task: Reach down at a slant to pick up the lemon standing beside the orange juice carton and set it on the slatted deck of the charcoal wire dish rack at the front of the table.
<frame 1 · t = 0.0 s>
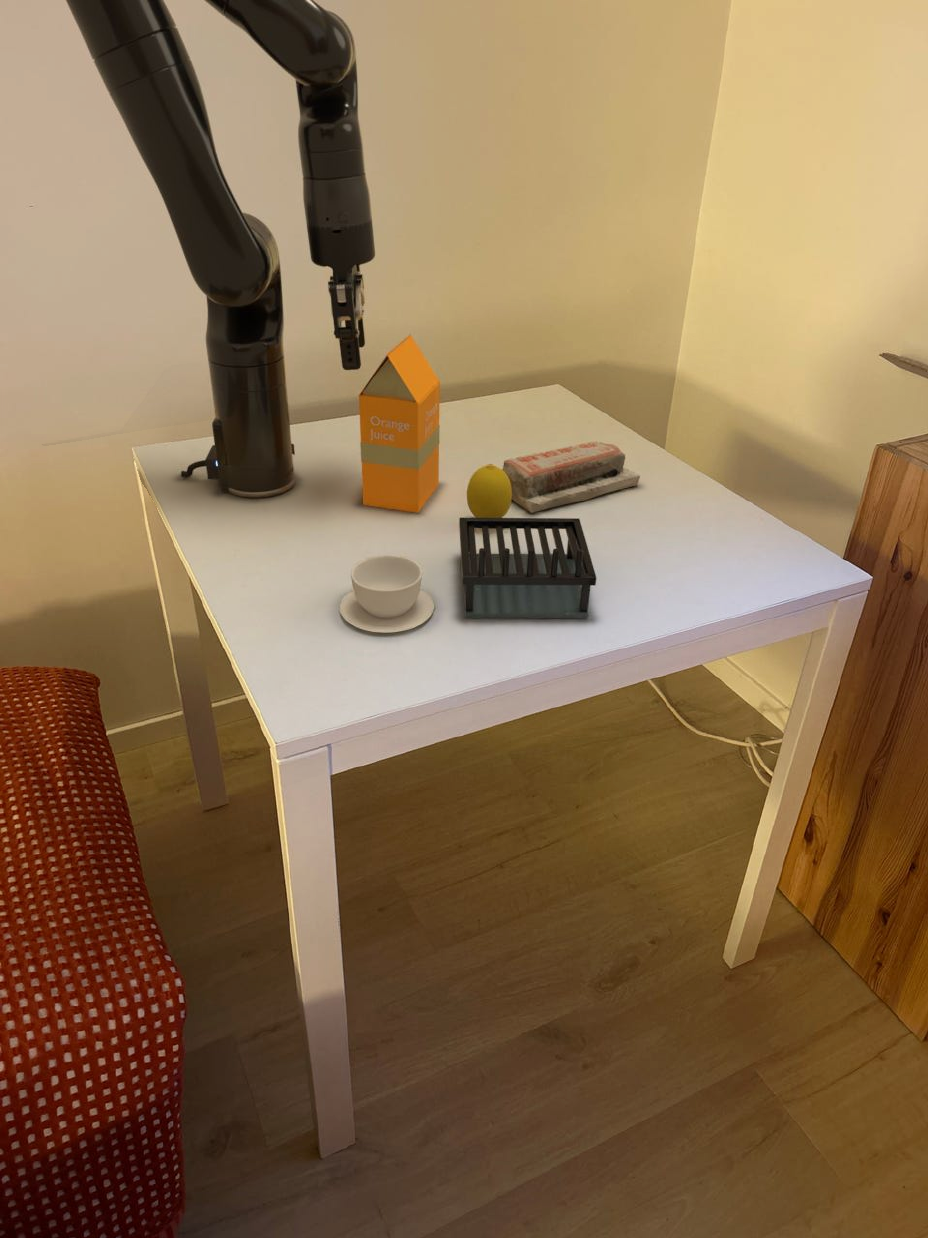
hand: (354, 357, 115), 17 cm above the table, tool pointing down, fingers open, 8 cm apart
teacup: (387, 611, 99), on the table
lemon: (487, 525, 116), on the table
orange juice: (401, 496, 122), on the table
dish rack: (521, 586, 104), on the table
packaged product: (564, 487, 126), on the table
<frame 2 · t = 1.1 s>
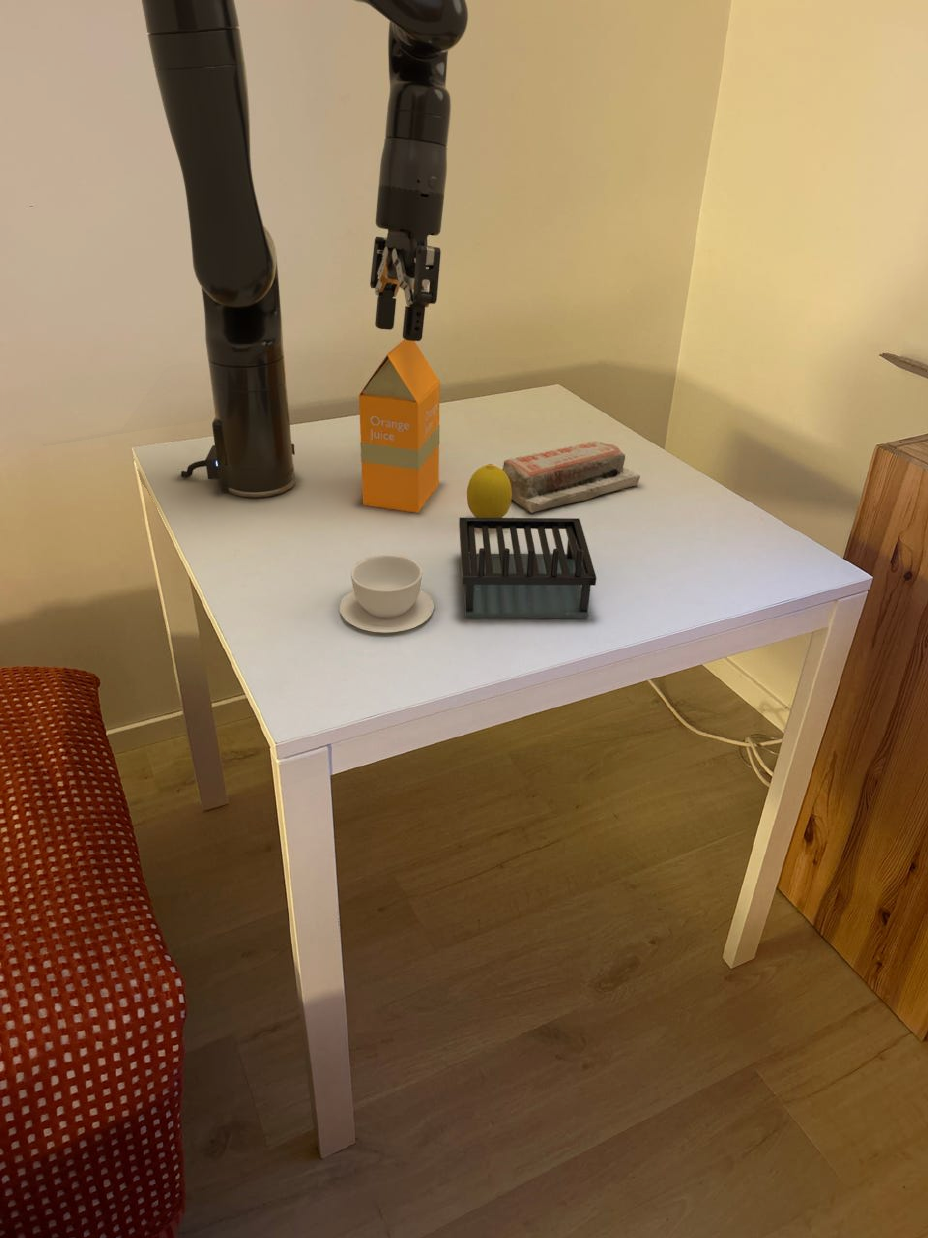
hand: (397, 334, 111), 21 cm above the table, tool pointing down, fingers open, 8 cm apart
nothing on the table moved.
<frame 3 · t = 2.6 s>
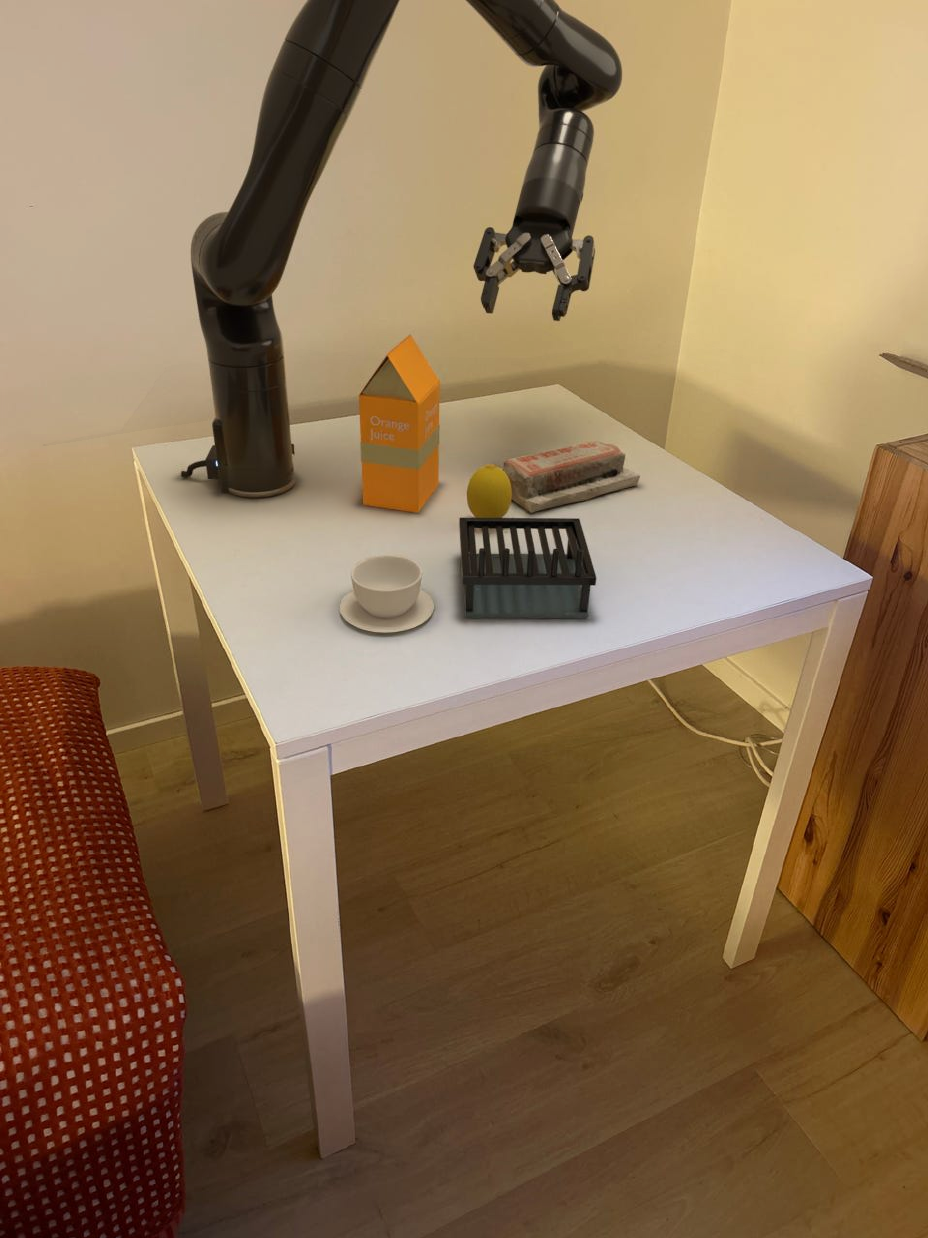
hand: (521, 313, 112), 23 cm above the table, tool tilted 45°, fingers open, 8 cm apart
nothing on the table moved.
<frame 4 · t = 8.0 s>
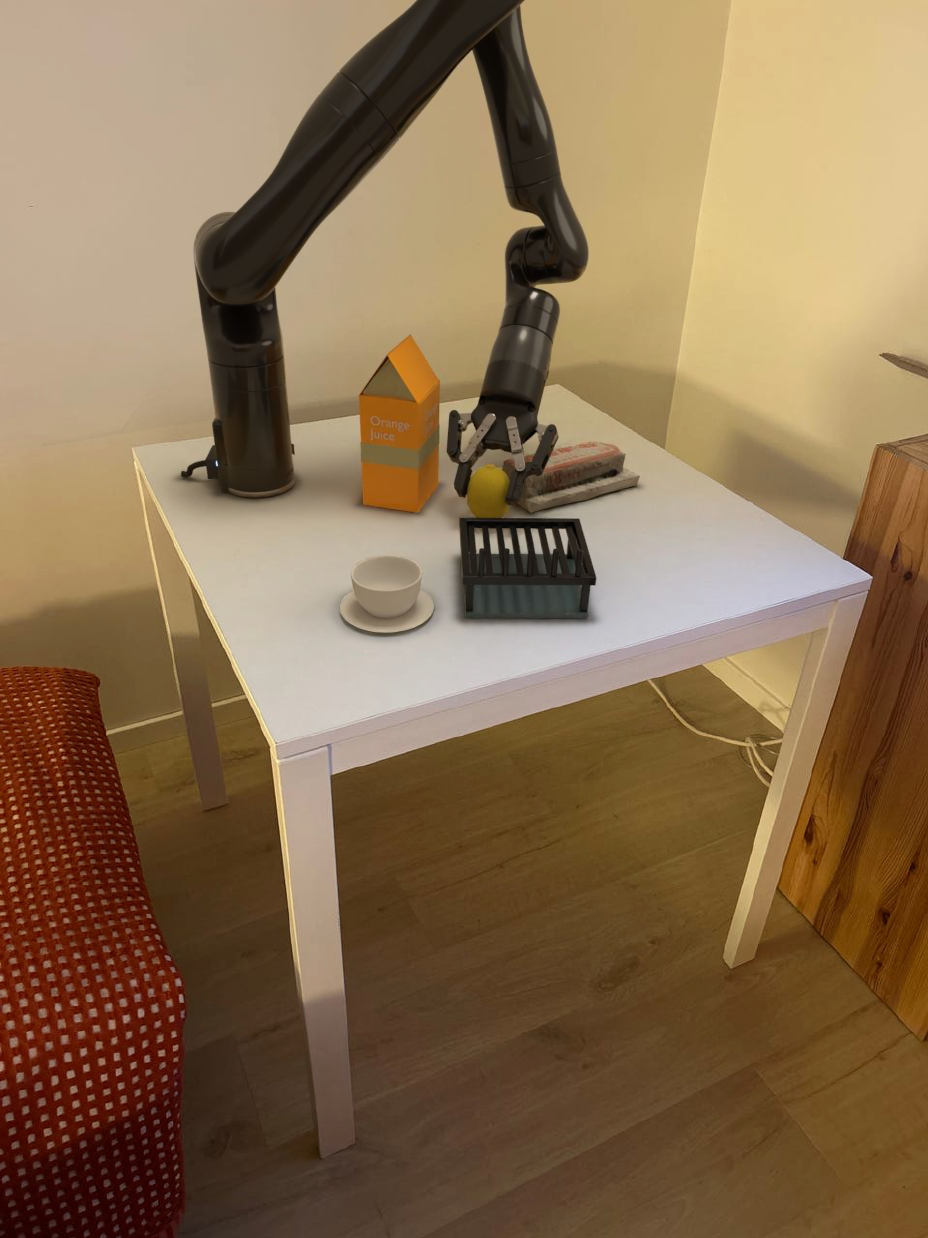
hand: (485, 498, 112), 4 cm above the table, tool tilted 45°, fingers closed on lemon, 5 cm apart
lemon: (487, 525, 116), on the table, touching gripper
everything else where it was.
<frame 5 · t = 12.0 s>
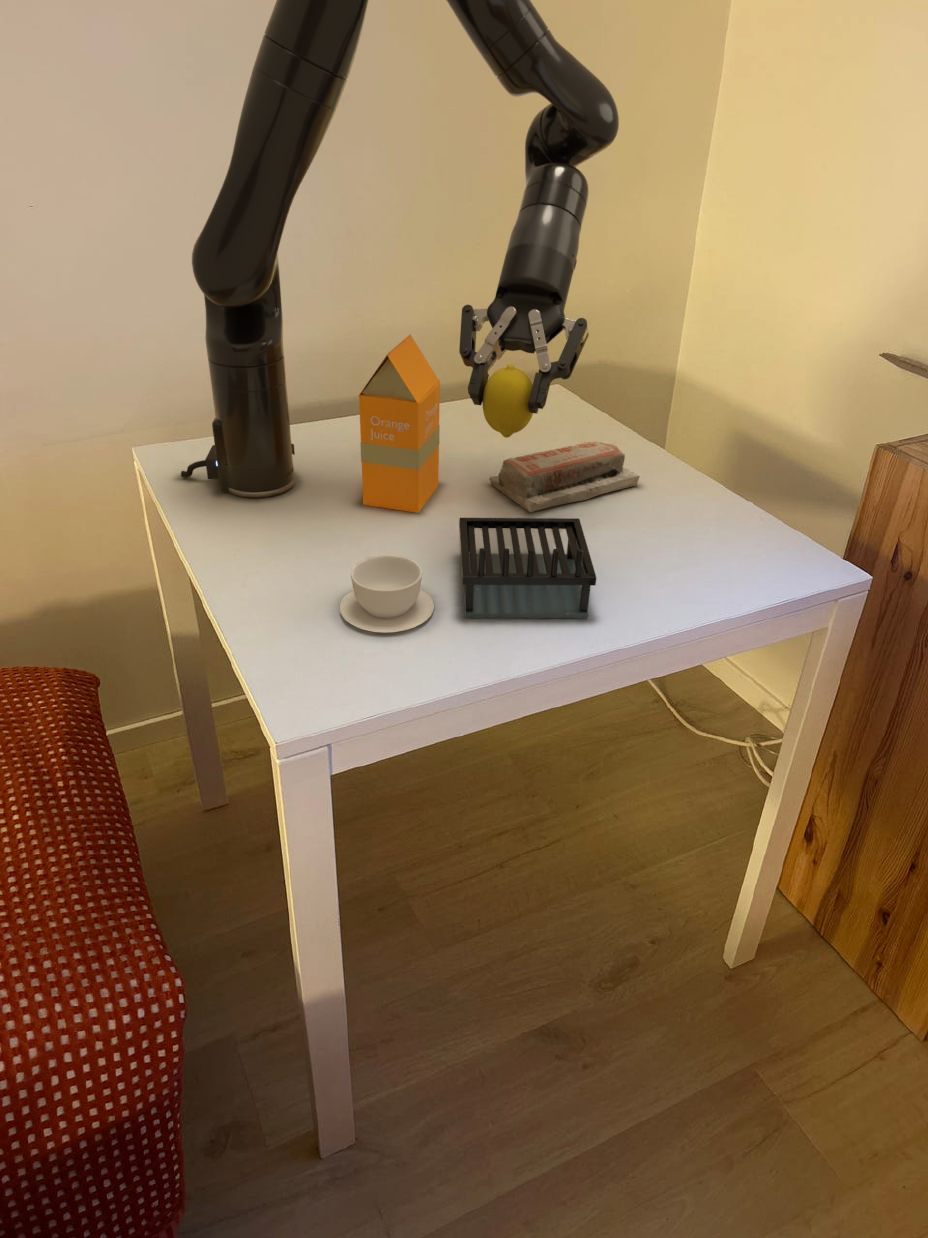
hand: (504, 405, 97), 19 cm above the table, tool tilted 45°, fingers closed on lemon, 5 cm apart
lemon: (506, 438, 101), point 15 cm above the table, touching gripper
everything else where it was.
when the fingers open (9 cm above the table, at t = 16.3 s): lemon stays where it is, resting on dish rack.
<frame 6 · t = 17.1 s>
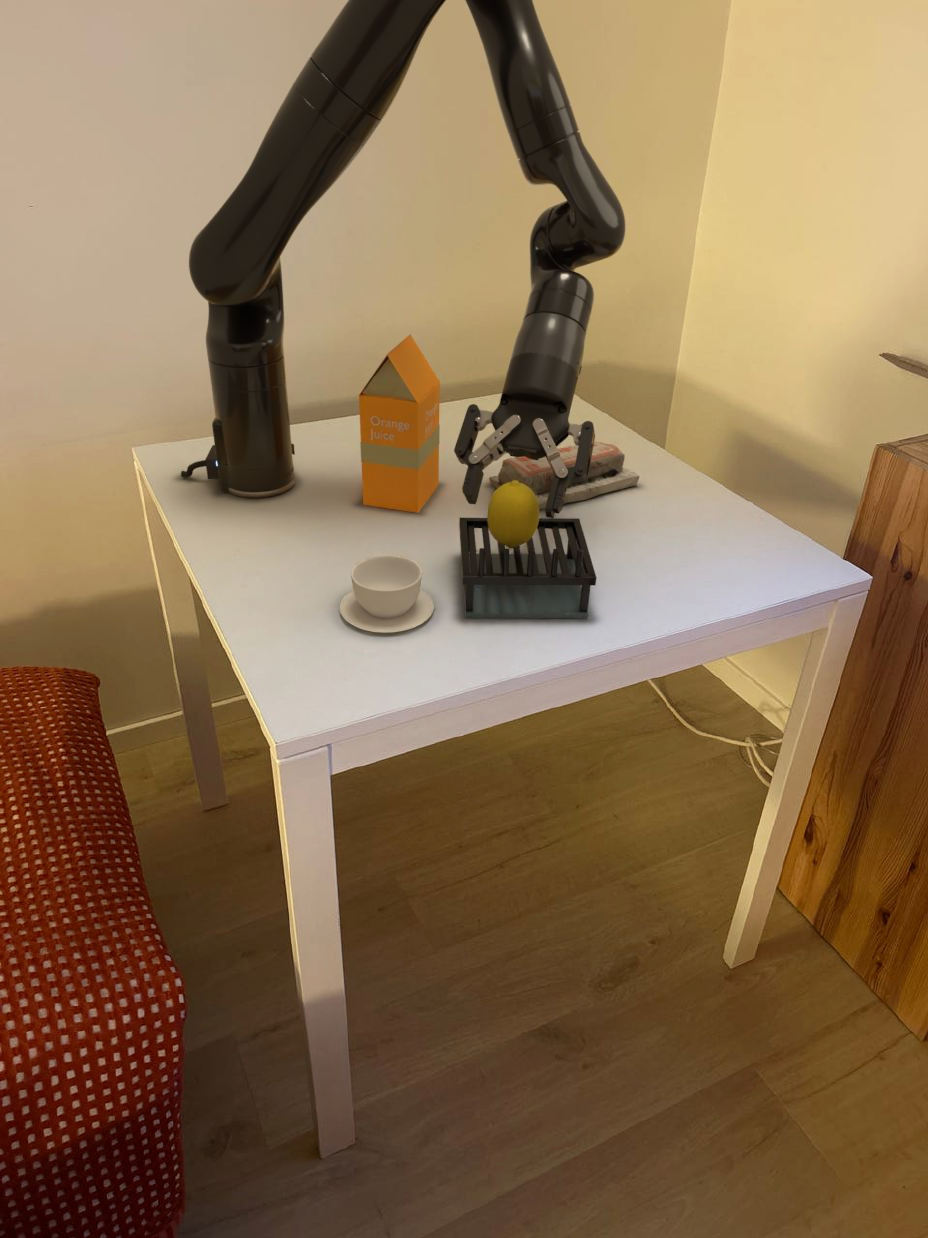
hand: (509, 508, 97), 10 cm above the table, tool tilted 45°, fingers open, 8 cm apart
lemon: (511, 549, 101), point 5 cm above the table, touching dish rack
everything else where it was.
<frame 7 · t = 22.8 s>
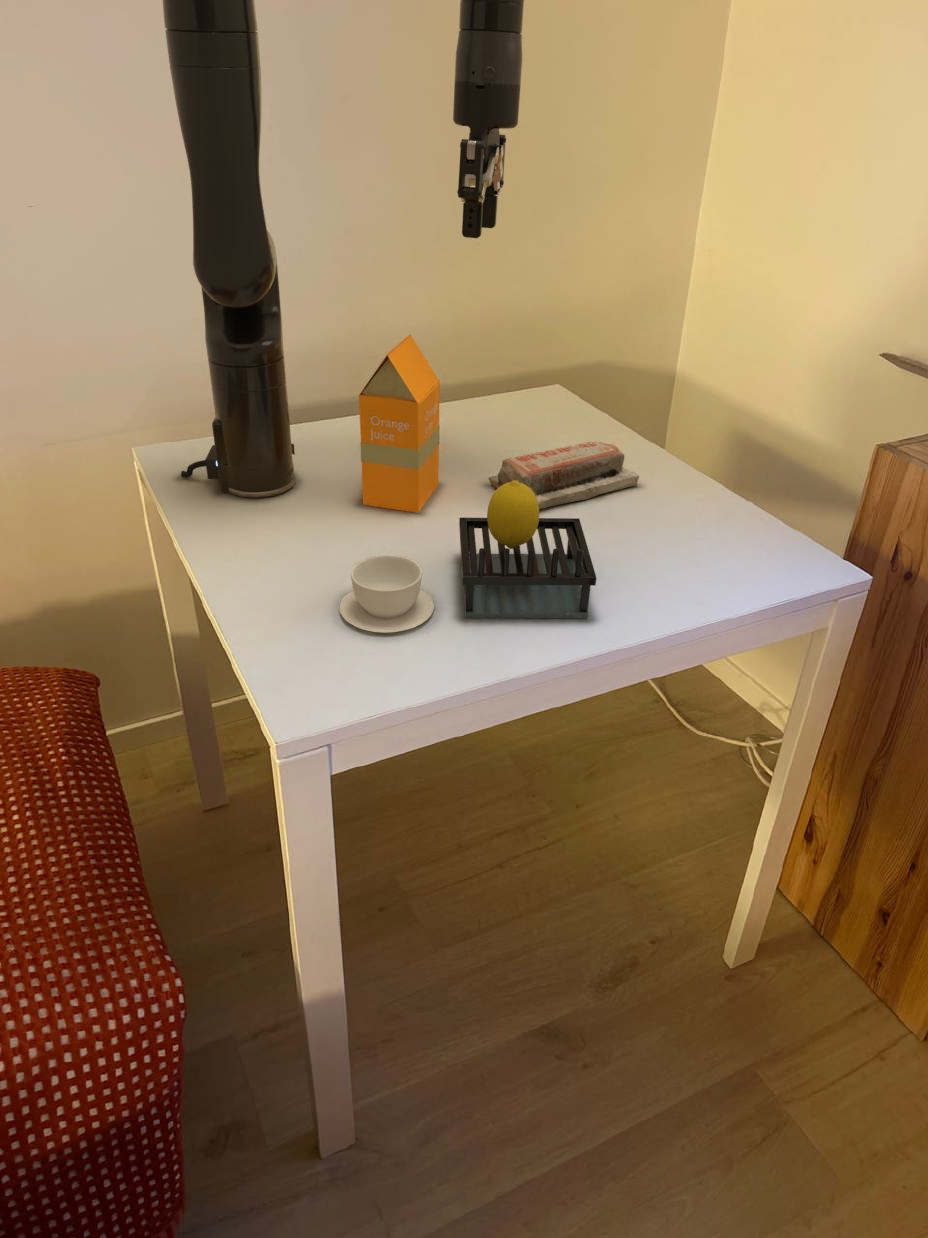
hand: (479, 232, 113), 31 cm above the table, tool pointing down, fingers open, 8 cm apart
nothing on the table moved.
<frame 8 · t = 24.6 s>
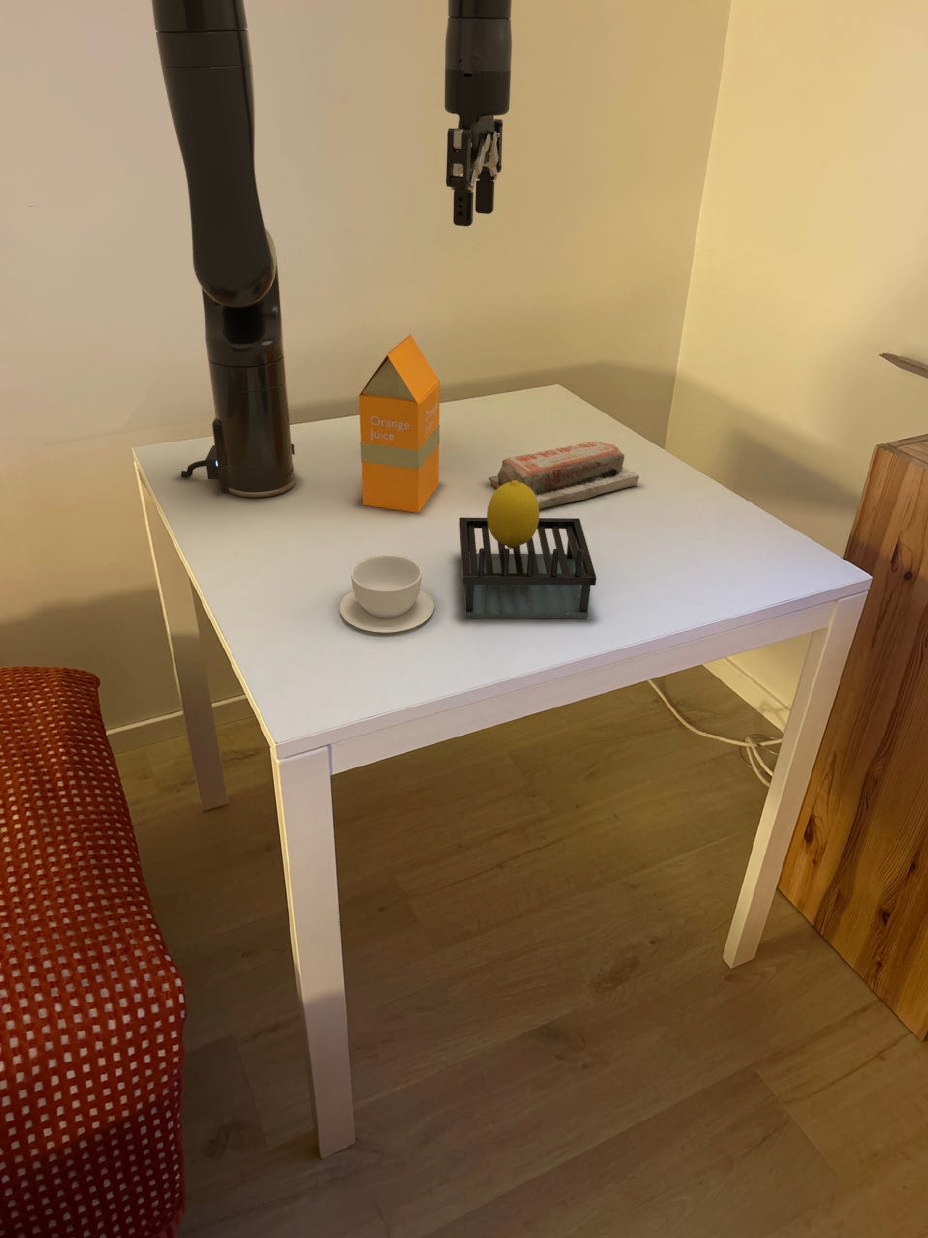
hand: (473, 218, 114), 32 cm above the table, tool pointing down, fingers open, 8 cm apart
nothing on the table moved.
at the end: lemon inside the target area on the dish rack (1.4 cm from its centre), point 4.6 cm above the dish rack's base; lemon touching dish rack; the gripper is holding nothing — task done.
